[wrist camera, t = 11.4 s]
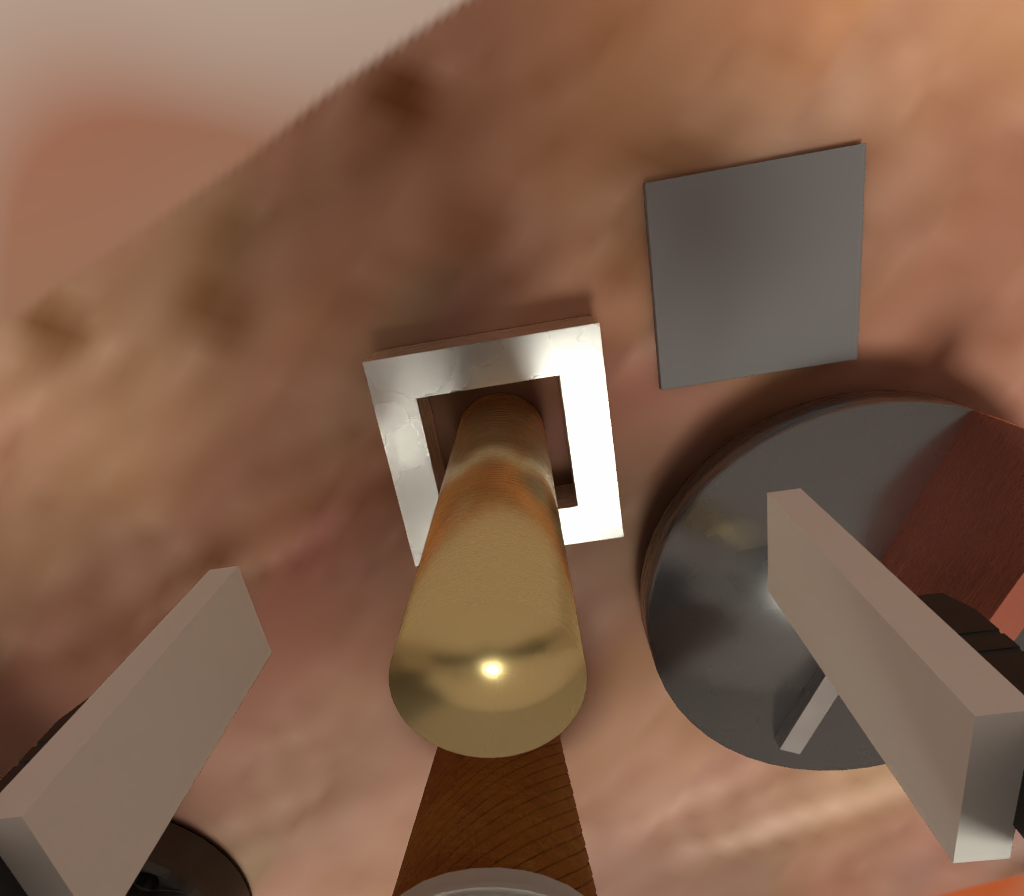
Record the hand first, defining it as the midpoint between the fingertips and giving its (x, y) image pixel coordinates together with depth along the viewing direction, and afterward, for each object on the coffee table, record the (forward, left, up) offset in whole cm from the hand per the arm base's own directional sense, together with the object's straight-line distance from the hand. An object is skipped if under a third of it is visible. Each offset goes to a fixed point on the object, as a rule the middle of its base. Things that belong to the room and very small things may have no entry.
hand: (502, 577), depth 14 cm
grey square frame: (0, 0, -12) cm, 12 cm away
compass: (+14, -9, -10) cm, 19 cm away
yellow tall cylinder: (0, 0, -12) cm, 12 cm away
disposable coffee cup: (-3, -17, -12) cm, 21 cm away
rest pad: (+11, +5, -12) cm, 16 cm away
